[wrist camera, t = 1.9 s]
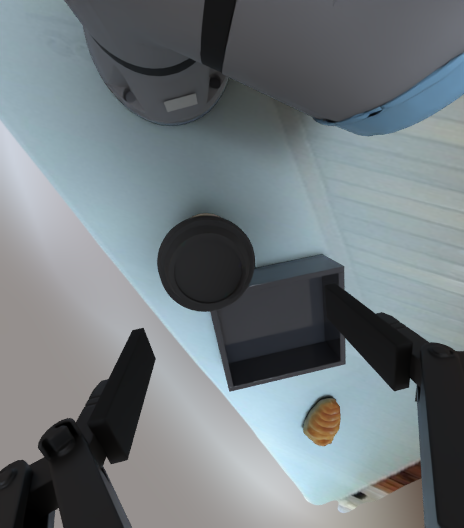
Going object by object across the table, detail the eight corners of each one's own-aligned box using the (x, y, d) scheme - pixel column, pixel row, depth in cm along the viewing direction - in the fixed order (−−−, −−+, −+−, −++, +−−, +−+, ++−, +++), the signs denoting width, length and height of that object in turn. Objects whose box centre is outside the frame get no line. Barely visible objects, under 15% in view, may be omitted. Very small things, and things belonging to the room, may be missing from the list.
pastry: (312, 394, 46) (322, 411, 42) (343, 395, 47) (355, 412, 43) (299, 429, 48) (307, 448, 45) (328, 429, 49) (338, 448, 46)
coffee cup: (164, 253, 33) (136, 302, 19) (187, 194, 31) (174, 199, 17) (222, 275, 36) (234, 333, 21) (246, 220, 33) (279, 245, 19)
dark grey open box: (206, 278, 35) (206, 295, 30) (322, 253, 36) (344, 266, 31) (225, 363, 41) (229, 391, 35) (326, 340, 42) (345, 364, 36)
